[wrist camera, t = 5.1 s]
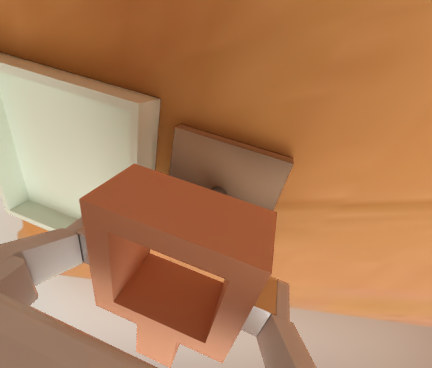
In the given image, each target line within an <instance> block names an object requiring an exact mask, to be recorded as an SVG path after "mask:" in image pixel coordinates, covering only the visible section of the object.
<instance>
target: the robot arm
mask: <svg viewBox="0 0 432 368" xmlns="http://www.w3.org/2000/svg"><path fill="white" fill-rule="evenodd" d="M83 262H84V263H87V264H89V258H88V252H87V246H86V240H85V234H84V227H83V221H82V217H81V218H79V219H78V220H76V221H75V222H74V223H72V224H71V225H70V226H68V227H67V228H65V229H64V228H60V229H56V230H52V231H48V232H45V233H41V234H37V235H33V236H30V237H26V238H22V239H18V240H15V241H11V242H8V243H3V244H0V368H157V367H155V366H153V365H151V364H149V363H146V362H145V361H142V360H141V359H138V358H136V357H134V356H132V355H130V354H128V353H126V352H124V351H122V350H120V349H118V348H116V347H114V346H112V345H109V344H107V343H105V342H103V341H101V340H99V339H97V338H95V337H93V336H91V335H89V334H87V333H85V332H83V331H81V330H79V329H76V328H74V327H72V326H70V325H68V324H66V323H64V322H62V321H60V320H58V319H56V318H53V317H52V316H49V315H47V314H45V313H43V312H41V311H39V310H37V309H35V308H33V307H31V306H30V305H31V304H32V303H33V302H34V301H35V300H36V299H37V298H38V293H37V291H36V288H35V286H36V285H38V284H40V283H42V282H44V281H46V280H48V279H51V278H52V277H55V276H57V275H59V274H61V273H63V272H65V271H67V270H70V269H72V268H74V267H76V266H78V265H80V264H82V263H83ZM241 330H243V331H245V332H247V333H249V334H251V335H254V336H256V337H257V341H258V344H259V348H260V351H261V354H262V357H263V361H264V364H265V368H316V366H315V364H314V362H313V361H312V358H311V356H310V354H309V352H308V350H307V349H306V347H305V345H304V343H303V341H302V339H301V337H300V335H299V333H298V331H297V329H296V327H295V325H294V323H292V322H290V305H289V284H288V283H286V282H283V281H281V280H278V279H276V278H273V277H271V276H270V277H269V279H268V281H267V283H266V284H265V286H264V288H263V290H262V292H261V294H260V296H259V297H258V299H257V301H256V303H255V305H254V307H253V308H252V310H251V312H250V314H249V316H248V318H247V319H246V321H245V323H244V325H243V327H242V329H241Z"/></svg>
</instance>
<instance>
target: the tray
mask: <svg viewBox="0 0 432 368" xmlns="http://www.w3.org/2000/svg"><path fill="white" fill-rule="evenodd" d="M160 102H161V99H160V98H156V97H153V96H149V95H146V94H142V93H139V92H135V91H132V90H129V89H125V88H122V87H118V86H115V85H111V84H108V83H104V82H101V81H98V80H94V79H91V78H87V77H84V76H80V75H77V74H73V73H70V72H67V71H63V70H60V69H56V68H53V67H49V66H46V65H42V64H39V63H36V62H32V61H29V60H25V59H22V58H18V57H15V56H12V55H8V54H5V53H1V52H0V197H1V199H2V202H3V205H4V208H5V211H6V213H7V214H10V215H12V216H15V217H17V218H19V219H22V220H24V221H27V222H29V223H31V224H34V225H36V226H39V227H41V228H43V229H46V230H48V231H52V230H56V229H60V228H64V229H65V228H67V227H68V226H70V225H71V224H72V223H74V222H75V221H76V220H78V219H79V218H81V217H82V215H81V209H80V203H79V199H80V198H81V197H83V196H84V195H86V194H88V193H89V192H91V191H92V190H94V189H95V188H97V187H98V186H100V185H101V184H103V183H105V182H106V181H108V180H109V179H111V178H112V177H114V176H115V175H117V174H119V173H120V172H122V171H123V170H125V169H126V168H128V167H129V166H131V165H133V164H134V163H135V164H138V165H140V166H143V167H146V168H149V169H152V170H155V166H156V153H157V140H158V128H159V115H160Z"/></svg>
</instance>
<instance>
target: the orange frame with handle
mask: <svg viewBox="0 0 432 368" xmlns="http://www.w3.org/2000/svg"><path fill="white" fill-rule="evenodd" d="M79 203H80V209H81V215H82V221H83V227H84V234H85V240H86V246H87V252H88V258H89V265H90V271H91V277H92V283H93V289H94V295H95V302H96V306H99V307H101V308H103V309H105V310H107V311H110V312H112V313H114V314H116V315H118V316H120V317H123V318H125V319H127V320H129V321H131V322H134V323H136V324H137V346H136V351H137V352H138V353H140V354H142V355H145V356H146V357H149V358H150V359H153V360H155V361H157V362H159V363H161V364H163V365H165V366H167V367H169V368H171V364H172V363H173V360H174V357H175V355H176V352H177V350H178V347H179V345H180V344H182V345H184V346H186V347H188V348H190V349H192V350H195V351H197V352H199V353H201V354H203V355H206V356H208V357H210V358H212V359H214V360H216V361H218V362H221V363H223V362H224V360H225V358H226V356H227V354H228V352H229V351H230V349H231V347H232V345H233V343H234V341H235V339H236V338H237V336H238V334H239V332H240V330H241V329H242V327H243V325H244V323H245V321H246V319H247V318H248V316H249V314H250V312H251V310H252V308H253V307H254V305H255V303H256V301H257V299H258V297H259V296H260V294H261V292H262V290H263V288H264V286H265V284H266V283H267V281H268V279H269V277H270V275H271V273H272V264H273V252H274V240H275V229H276V217H277V212H275V211H272V210H269V209H266V208H263V207H260V206H257V205H254V204H251V203H248V202H245V201H243V200H240V199H237V198H234V197H231V196H228V195H225V194H222V193H219V192H216V191H213V190H210V189H208V188H205V187H202V186H199V185H196V184H193V183H190V182H187V181H184V180H181V179H178V178H175V177H173V176H170V175H167V174H164V173H161V172H158V171H155V170H152V169H149V168H146V167H143V166H140V165H138V164H135V163H134V164H133V165H131V166H129V167H128V168H126V169H125V170H123V171H122V172H120V173H119V174H117V175H115V176H114V177H112V178H111V179H109V180H108V181H106V182H105V183H103V184H101V185H100V186H98V187H97V188H95V189H94V190H92V191H91V192H89V193H88V194H86V195H84V196H83V197H81V198H80V199H79ZM150 249H152V250H154V251H157V252H159V253H162V254H164V255H167V256H169V257H172V258H174V259H177V260H179V261H182V262H184V263H187V264H189V265H192V266H194V267H197V268H199V269H202V270H204V271H207V272H209V273H212V274H214V275H217V276H219V277H222V278H224V279H225V280H224V283H222V282H220V281H217V280H215V279H212V278H210V277H207V276H205V275H202V274H200V273H198V272H195V271H193V270H190V269H188V268H185V267H183V266H180V265H178V264H175V263H173V262H170V261H168V260H165V259H163V258H160V257H158V256H155V255H153V254H150Z"/></svg>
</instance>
